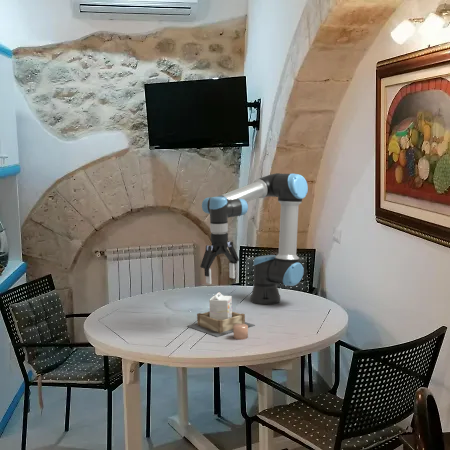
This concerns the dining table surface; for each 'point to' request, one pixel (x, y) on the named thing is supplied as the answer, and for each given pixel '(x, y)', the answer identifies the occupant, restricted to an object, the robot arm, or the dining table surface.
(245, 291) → the dining table surface
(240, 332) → the brown egg
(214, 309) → the ink box
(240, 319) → the crate
